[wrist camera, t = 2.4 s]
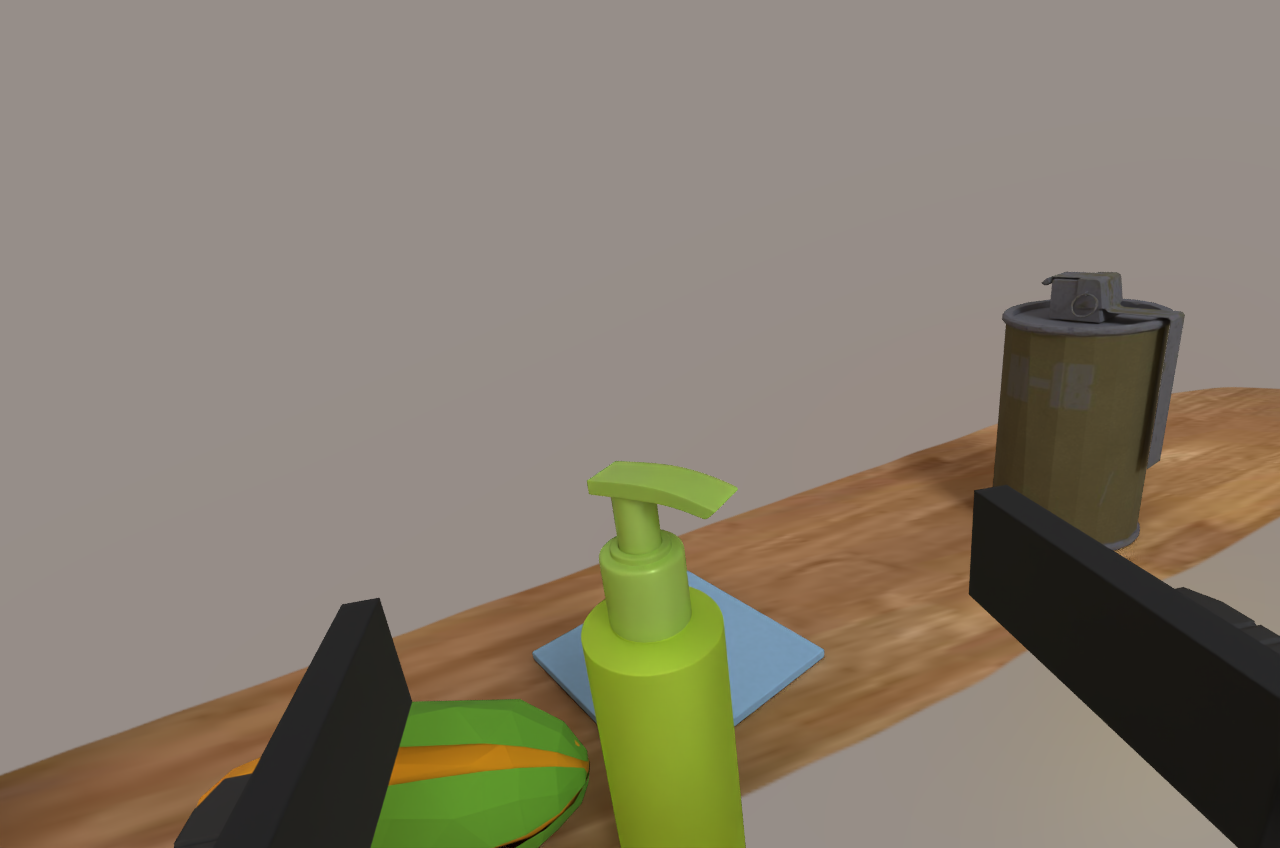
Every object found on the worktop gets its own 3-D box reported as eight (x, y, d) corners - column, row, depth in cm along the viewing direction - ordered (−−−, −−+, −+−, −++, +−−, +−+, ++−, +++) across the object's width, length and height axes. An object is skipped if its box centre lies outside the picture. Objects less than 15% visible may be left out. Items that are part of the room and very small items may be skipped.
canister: (962, 520, 55) (975, 284, 48) (1029, 480, 60) (1050, 261, 53) (1105, 573, 46) (1147, 293, 39) (1170, 521, 51) (1217, 265, 44)
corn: (567, 767, 27) (104, 811, 27) (593, 904, 29) (163, 941, 29) (583, 655, 34) (216, 693, 34) (603, 772, 36) (256, 804, 37)
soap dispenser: (732, 954, 26) (683, 527, 19) (599, 873, 30) (518, 493, 23) (785, 834, 31) (760, 452, 24) (663, 777, 35) (612, 434, 28)
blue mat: (533, 658, 45) (531, 651, 45) (683, 573, 52) (682, 567, 52) (657, 787, 34) (656, 778, 34) (824, 656, 42) (824, 649, 41)
